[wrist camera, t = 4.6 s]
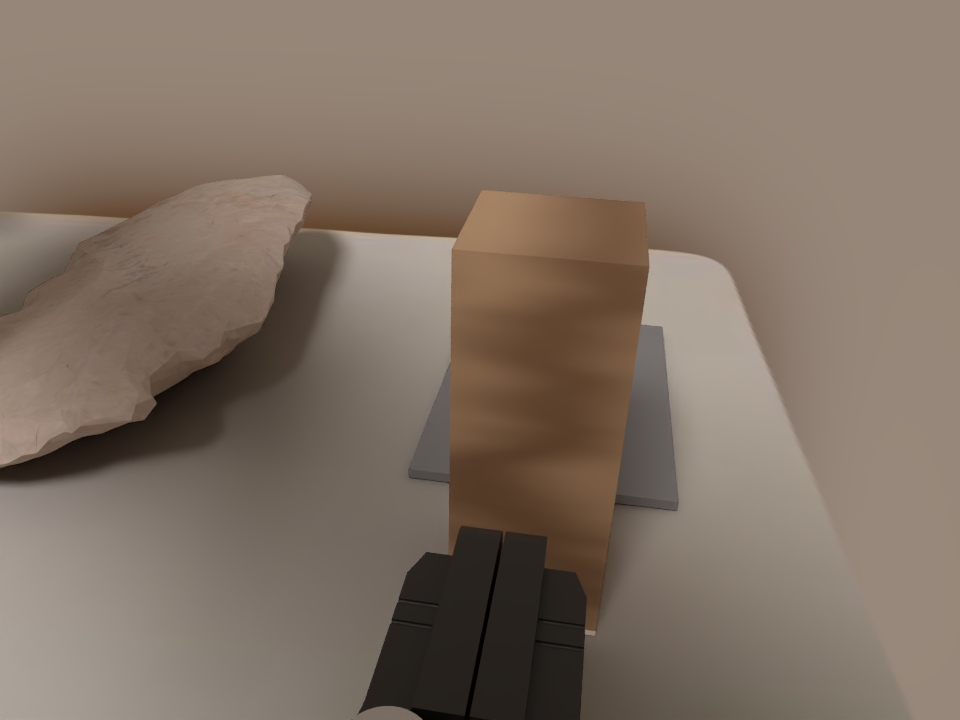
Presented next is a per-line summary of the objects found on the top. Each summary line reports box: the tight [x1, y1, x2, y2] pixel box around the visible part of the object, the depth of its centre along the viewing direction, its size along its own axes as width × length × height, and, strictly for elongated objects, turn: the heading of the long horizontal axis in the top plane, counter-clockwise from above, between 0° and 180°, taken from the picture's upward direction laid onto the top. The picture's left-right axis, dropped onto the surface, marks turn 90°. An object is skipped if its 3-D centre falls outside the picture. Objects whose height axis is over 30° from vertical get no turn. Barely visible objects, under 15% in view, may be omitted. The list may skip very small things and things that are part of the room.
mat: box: [409, 325, 678, 511], centre depth 35 cm, size 10×14×1 cm
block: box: [449, 190, 649, 636], centre depth 23 cm, size 4×4×12 cm
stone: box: [0, 175, 312, 468], centre depth 37 cm, size 14×5×25 cm
